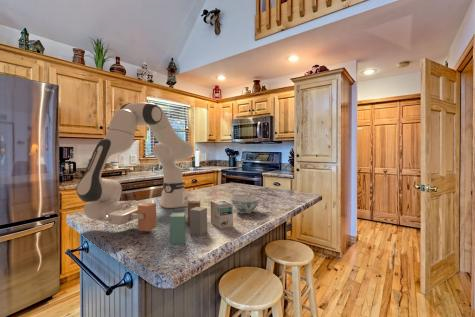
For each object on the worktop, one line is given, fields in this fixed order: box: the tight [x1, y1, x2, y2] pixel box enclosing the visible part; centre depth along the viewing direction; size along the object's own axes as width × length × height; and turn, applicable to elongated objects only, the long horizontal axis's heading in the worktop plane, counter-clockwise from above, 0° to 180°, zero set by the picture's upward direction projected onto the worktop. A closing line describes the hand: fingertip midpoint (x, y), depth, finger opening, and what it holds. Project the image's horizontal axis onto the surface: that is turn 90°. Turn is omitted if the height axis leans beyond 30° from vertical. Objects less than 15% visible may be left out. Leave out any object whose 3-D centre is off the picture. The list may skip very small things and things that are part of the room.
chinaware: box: [231, 195, 260, 214], centre depth 128 cm, size 15×15×8 cm
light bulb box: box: [210, 198, 234, 230], centre depth 107 cm, size 11×7×11 cm, turn 30°
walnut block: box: [187, 200, 201, 226], centre depth 109 cm, size 5×5×10 cm
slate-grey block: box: [189, 206, 208, 237], centre depth 97 cm, size 5×5×10 cm
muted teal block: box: [169, 212, 187, 245], centre depth 88 cm, size 5×5×10 cm
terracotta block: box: [137, 202, 157, 232], centre depth 96 cm, size 5×5×10 cm
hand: (149, 214), depth 95 cm, fingers closed on terracotta block, 5 cm apart
